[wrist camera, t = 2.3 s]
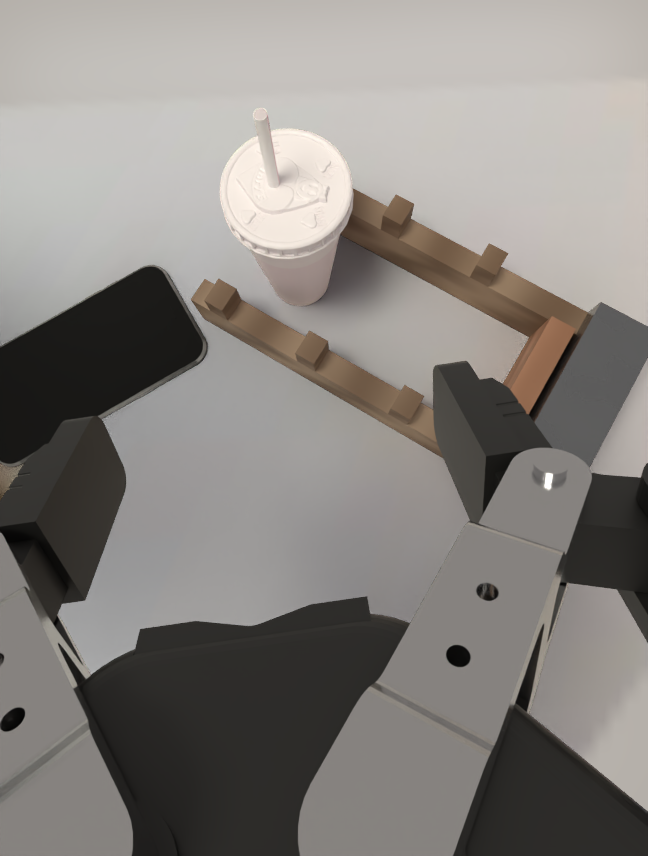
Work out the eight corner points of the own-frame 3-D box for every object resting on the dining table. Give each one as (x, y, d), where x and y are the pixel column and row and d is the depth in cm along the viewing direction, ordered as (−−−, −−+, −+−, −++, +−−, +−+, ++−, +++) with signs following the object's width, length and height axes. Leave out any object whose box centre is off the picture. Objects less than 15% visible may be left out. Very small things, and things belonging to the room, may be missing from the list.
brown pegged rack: (203, 318, 34) (183, 288, 29) (293, 185, 35) (286, 137, 31) (507, 495, 31) (535, 492, 27) (590, 344, 33) (630, 317, 28)
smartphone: (-49, 371, 33) (157, 256, 34) (-40, 374, 34) (161, 262, 35) (1, 474, 32) (212, 353, 33) (8, 475, 33) (215, 356, 34)
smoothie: (264, 226, 35) (213, 34, 21) (358, 243, 34) (371, 58, 20) (242, 316, 34) (173, 176, 20) (339, 334, 33) (339, 204, 19)
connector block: (481, 480, 31) (505, 474, 27) (565, 331, 33) (600, 302, 28) (534, 511, 31) (566, 510, 26) (616, 358, 32) (660, 333, 28)
